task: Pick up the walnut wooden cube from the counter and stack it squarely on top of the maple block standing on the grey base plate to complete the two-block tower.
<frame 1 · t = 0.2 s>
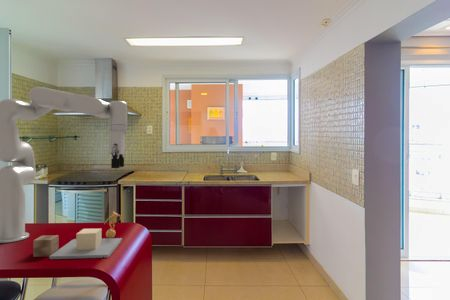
hand: (117, 167, 130), 31 cm above the breakfast bar, tool pointing down, fingers open, 9 cm apart
base plate: (89, 248, 114), on the breakfast bar
figurine: (112, 239, 127), on the breakfast bar
walnut cube: (46, 253, 109), on the breakfast bar
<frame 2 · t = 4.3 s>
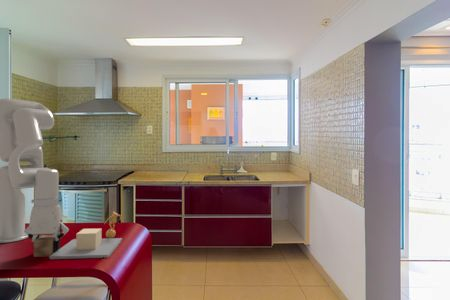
hand: (46, 250, 109), 1 cm above the breakfast bar, tool pointing down, fingers closed on walnut cube, 6 cm apart
walnut cube: (46, 253, 109), on the breakfast bar, touching gripper
everything else where it was.
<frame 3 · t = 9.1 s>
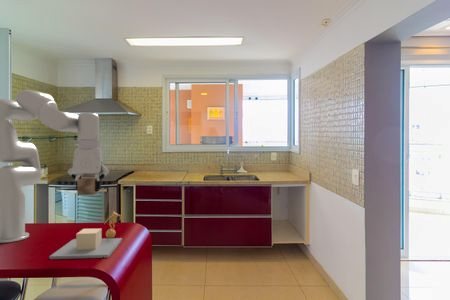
hand: (88, 190, 114), 23 cm above the breakfast bar, tool pointing down, fingers closed on walnut cube, 6 cm apart
walnut cube: (88, 193, 114), point 22 cm above the breakfast bar, touching gripper
everything else where it was.
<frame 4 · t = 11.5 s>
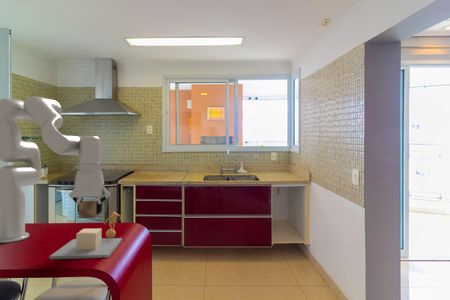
hand: (89, 213, 114), 14 cm above the breakfast bar, tool pointing down, fingers closed on walnut cube, 6 cm apart
walnut cube: (89, 216, 114), point 13 cm above the breakfast bar, touching gripper
everything else where it was.
when the fingers open (10 cm above the breakfast bar, at t = 13.7 s): walnut cube drops 1 cm, resting on base plate.
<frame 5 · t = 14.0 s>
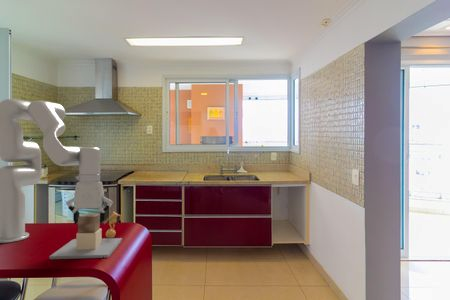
hand: (89, 222, 114), 10 cm above the breakfast bar, tool pointing down, fingers open, 9 cm apart
walnut cube: (89, 230, 114), point 7 cm above the breakfast bar, touching base plate
everything else where it was.
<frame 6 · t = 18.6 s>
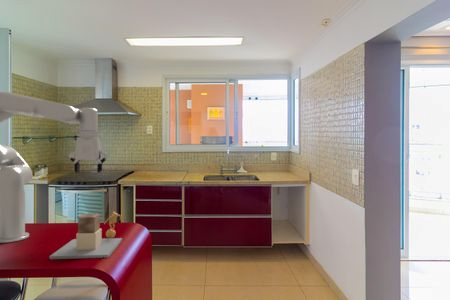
hand: (88, 172, 134), 28 cm above the breakfast bar, tool pointing down, fingers open, 9 cm apart
nothing on the breakfast bar moved.
at the end: walnut cube 0.1 cm off-centre on the base plate, point 7.0 cm above the base plate's base; walnut cube tilted 0°; the gripper is holding nothing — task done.
